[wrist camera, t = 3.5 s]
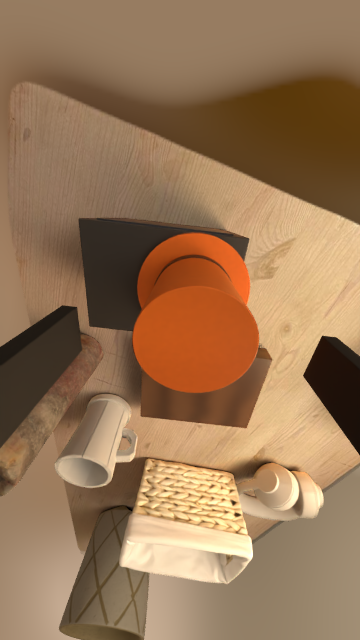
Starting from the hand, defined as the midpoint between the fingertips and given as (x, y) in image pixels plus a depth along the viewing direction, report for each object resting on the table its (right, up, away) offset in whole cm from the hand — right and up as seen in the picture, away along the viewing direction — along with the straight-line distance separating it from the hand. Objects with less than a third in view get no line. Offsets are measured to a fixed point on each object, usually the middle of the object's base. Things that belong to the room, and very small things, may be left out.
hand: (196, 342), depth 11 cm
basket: (0, -39, +41) cm, 57 cm away
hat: (0, +4, +8) cm, 9 cm away
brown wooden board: (+3, -9, +26) cm, 28 cm away
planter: (-17, -60, +53) cm, 82 cm away
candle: (-18, -3, +25) cm, 31 cm away
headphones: (+21, -39, +40) cm, 60 cm away
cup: (-14, -16, +31) cm, 38 cm away
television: (-2, +9, +17) cm, 20 cm away
